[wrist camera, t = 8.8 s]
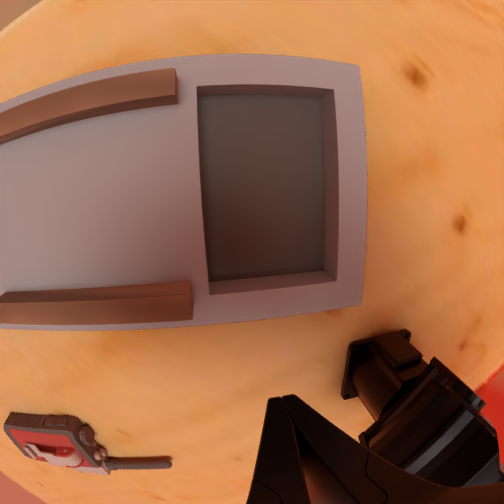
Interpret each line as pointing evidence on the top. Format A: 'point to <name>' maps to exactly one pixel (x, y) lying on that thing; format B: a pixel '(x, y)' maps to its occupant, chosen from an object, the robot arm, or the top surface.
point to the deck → (198, 192)
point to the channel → (100, 298)
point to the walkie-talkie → (66, 444)
